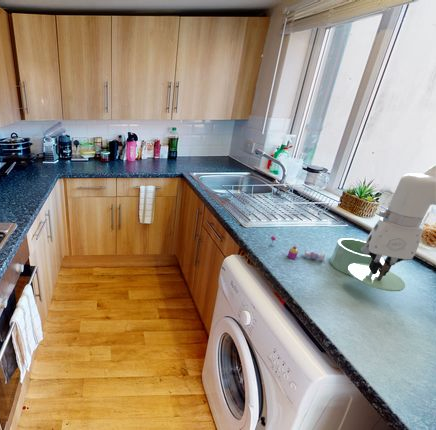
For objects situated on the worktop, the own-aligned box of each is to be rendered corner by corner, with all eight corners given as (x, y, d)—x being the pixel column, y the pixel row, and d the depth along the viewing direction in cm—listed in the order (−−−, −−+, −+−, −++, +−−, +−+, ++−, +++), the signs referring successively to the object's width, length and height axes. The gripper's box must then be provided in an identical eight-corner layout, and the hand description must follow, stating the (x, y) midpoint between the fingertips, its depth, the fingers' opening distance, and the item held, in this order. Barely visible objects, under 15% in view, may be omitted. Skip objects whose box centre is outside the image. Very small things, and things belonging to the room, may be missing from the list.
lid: (392, 271, 92) (400, 254, 89) (412, 298, 80) (423, 279, 78) (341, 262, 97) (348, 245, 94) (354, 286, 85) (362, 268, 82)
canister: (366, 262, 107) (375, 242, 103) (379, 281, 96) (390, 260, 92) (326, 254, 111) (334, 235, 107) (335, 272, 100) (343, 251, 97)
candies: (320, 256, 110) (325, 242, 107) (323, 266, 103) (328, 252, 101) (268, 244, 117) (272, 231, 115) (268, 253, 111) (272, 239, 108)
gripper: (372, 218, 79) (349, 273, 87) (447, 229, 74) (415, 286, 82) (363, 209, 86) (342, 260, 93) (431, 217, 80) (403, 271, 88)
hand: (377, 272), depth 88 cm, fingers closed on lid, 1 cm apart
